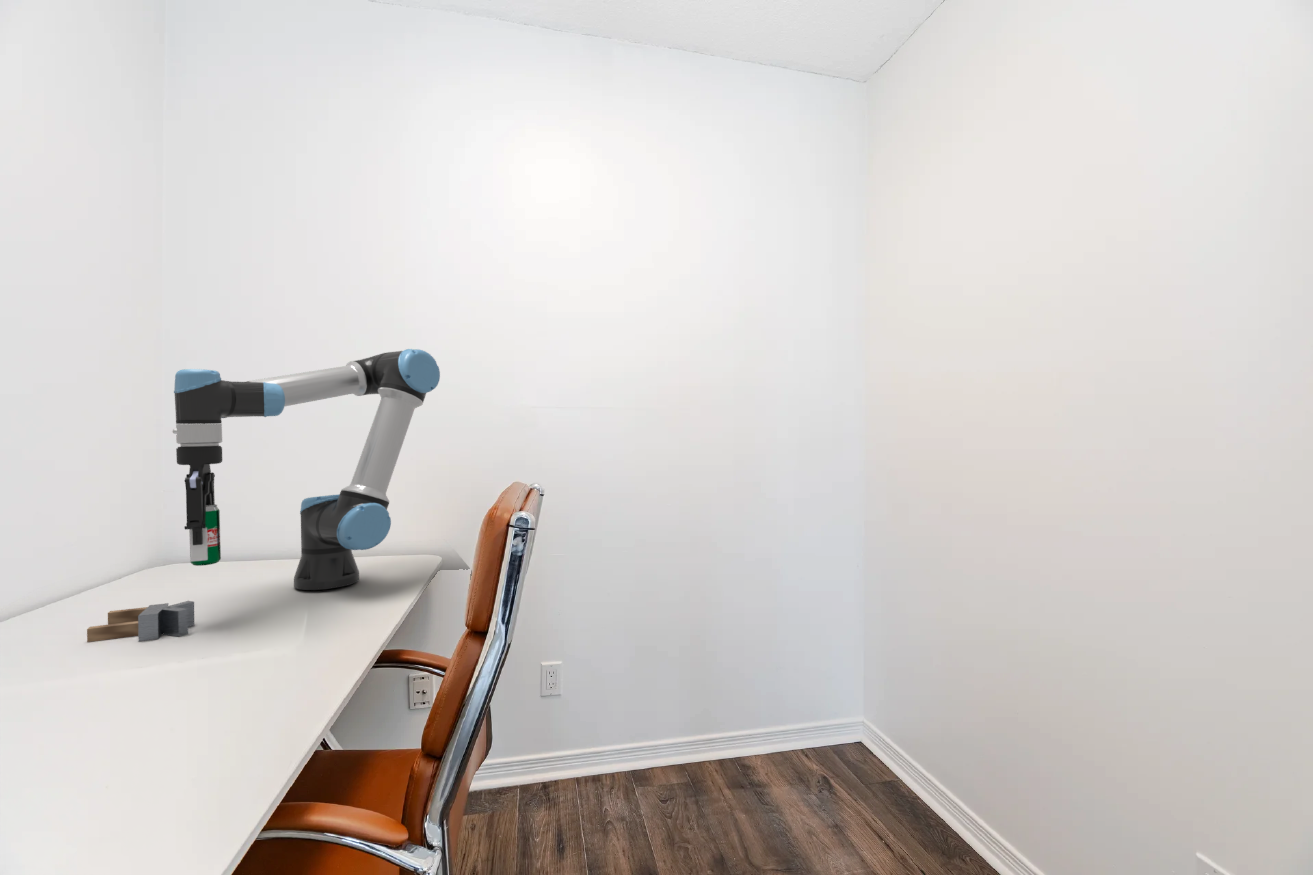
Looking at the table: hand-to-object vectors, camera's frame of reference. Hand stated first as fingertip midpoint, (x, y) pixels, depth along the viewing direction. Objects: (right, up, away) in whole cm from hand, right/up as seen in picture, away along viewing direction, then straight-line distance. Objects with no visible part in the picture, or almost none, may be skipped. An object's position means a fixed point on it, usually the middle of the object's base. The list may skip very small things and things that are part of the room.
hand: (202, 557), depth 125 cm
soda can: (0, -1, 0) cm, 2 cm away
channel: (-15, -14, -1) cm, 21 cm away
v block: (-5, -14, -3) cm, 16 cm away
